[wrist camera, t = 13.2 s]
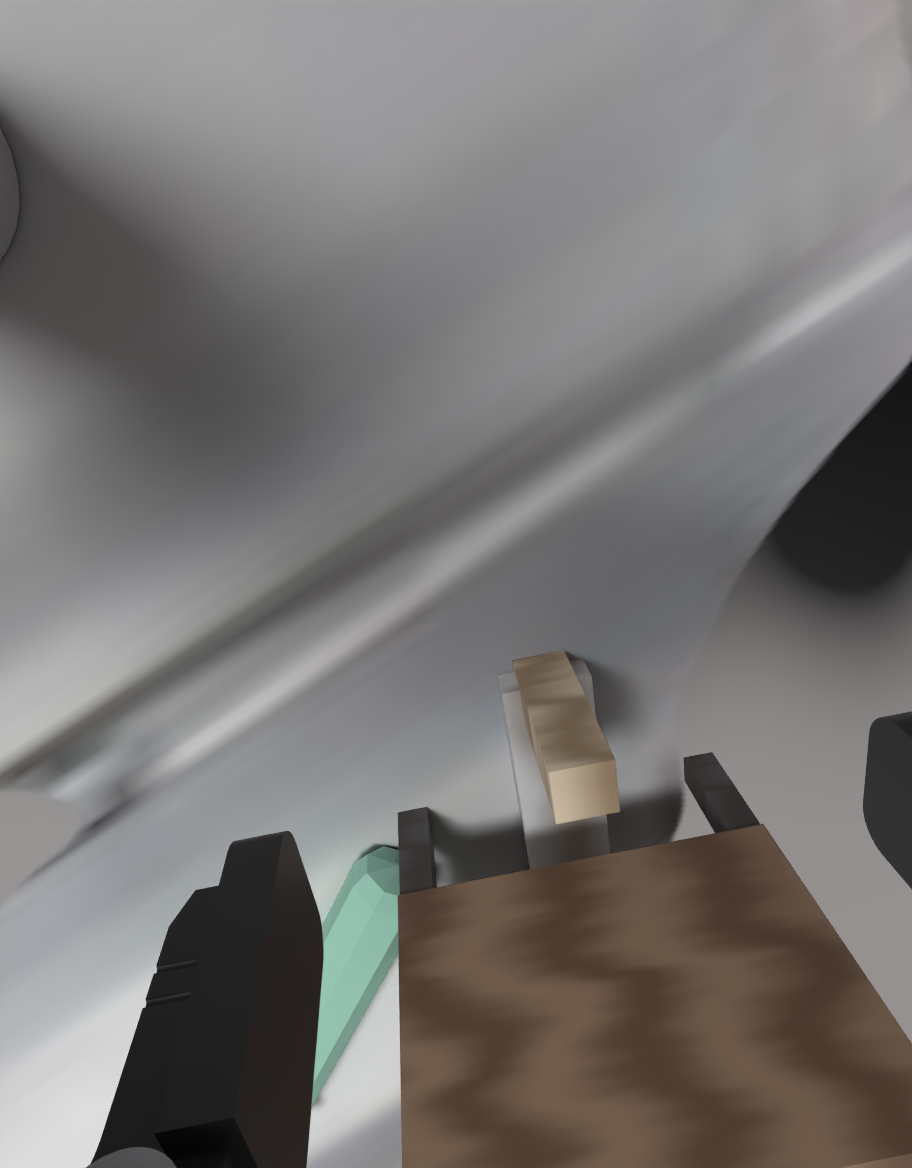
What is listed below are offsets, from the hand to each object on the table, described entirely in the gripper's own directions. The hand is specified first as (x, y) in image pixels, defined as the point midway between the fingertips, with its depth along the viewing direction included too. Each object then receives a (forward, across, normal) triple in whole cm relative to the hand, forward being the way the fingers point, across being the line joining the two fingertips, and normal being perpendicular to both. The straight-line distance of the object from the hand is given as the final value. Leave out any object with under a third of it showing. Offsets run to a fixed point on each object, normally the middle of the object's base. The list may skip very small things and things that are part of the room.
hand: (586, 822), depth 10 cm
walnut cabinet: (+28, -3, +28) cm, 40 cm away
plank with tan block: (+28, -3, +27) cm, 39 cm away
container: (+28, +14, +36) cm, 48 cm away
